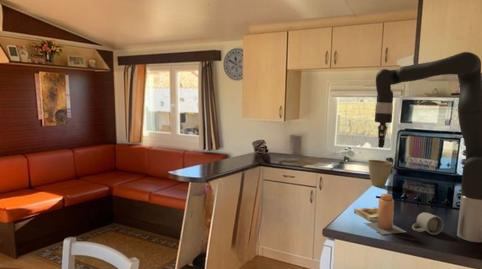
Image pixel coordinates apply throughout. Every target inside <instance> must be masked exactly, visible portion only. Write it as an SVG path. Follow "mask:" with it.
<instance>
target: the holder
mask: <svg viewBox="0 0 482 269" xmlns="http://www.w3.org/2000/svg"><path fill="white" fill-rule="evenodd" d="M353 213H354V214H355V215H357V216H359V217H360V218H362V219H364V220H366V221H368V223H371V222H378V207H361V208H359V207H358V208H353Z"/></svg>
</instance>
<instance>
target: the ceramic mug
mask: <svg viewBox="0 0 482 269" xmlns="http://www.w3.org/2000/svg"><path fill="white" fill-rule="evenodd" d="M418 227H419V228H418ZM411 228H412V230H413V231H415V232H418V233H422V232H427V233H428V234H430V235H434V236H436V235H439V234H440V233H442V231H443V230H444V229H443V228H444V221H443V219H442V218H441V217H440V216H438V215H434V214H432V213H430V212H421V213H419V214H418V215H417V217H416V222H415V223H414V224H412V225H411Z"/></svg>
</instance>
